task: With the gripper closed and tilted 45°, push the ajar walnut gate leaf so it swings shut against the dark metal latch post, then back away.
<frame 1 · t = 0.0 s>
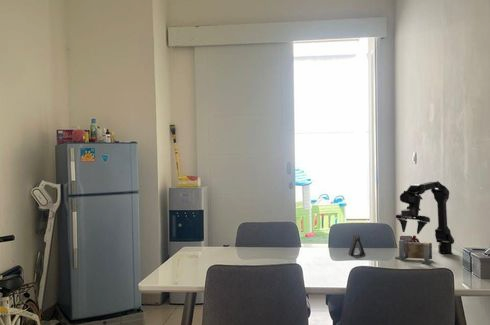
hand: (410, 233, 248), 15 cm above the table, tool pointing down, fingers open, 9 cm apart
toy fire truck: (410, 252, 271), on the table
gate posts: (406, 259, 251), on the table
gate leaf: (418, 250, 249), point 5 cm above the table, hinge at 30.0°
phone stand: (356, 254, 267), on the table
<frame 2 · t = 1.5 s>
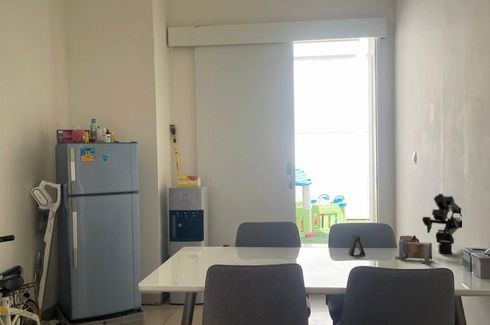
hand: (435, 233, 258), 13 cm above the table, tool tilted 45°, fingers open, 9 cm apart
nothing on the table moved.
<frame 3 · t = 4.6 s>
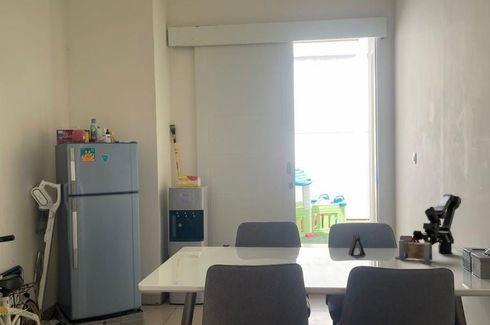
hand: (426, 248, 248), 7 cm above the table, tool tilted 45°, fingers closed
gate leaf: (418, 250, 248), point 5 cm above the table, hinge at 24.3°, touching gripper
everything else where it was.
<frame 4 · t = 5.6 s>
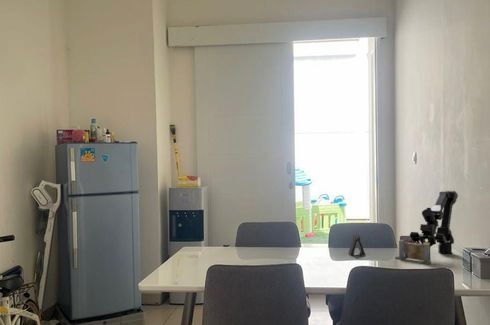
hand: (423, 249, 245), 7 cm above the table, tool tilted 45°, fingers closed on gate leaf
gate leaf: (417, 251, 246), point 5 cm above the table, hinge at 0.5°, touching gripper
everything else where it was.
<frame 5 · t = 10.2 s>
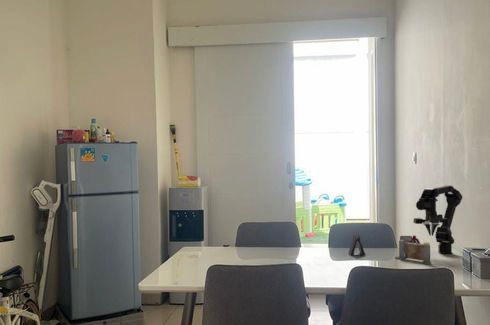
hand: (431, 235, 260), 12 cm above the table, tool pointing down, fingers closed
gate leaf: (417, 251, 246), point 5 cm above the table, hinge at -0.3°
everything else where it was.
at the end: gate leaf at +0° (first picture: +30°); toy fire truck moved 0.3 cm from its start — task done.
